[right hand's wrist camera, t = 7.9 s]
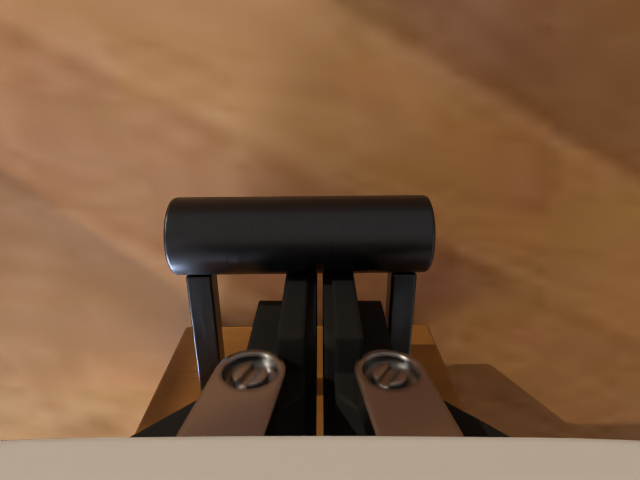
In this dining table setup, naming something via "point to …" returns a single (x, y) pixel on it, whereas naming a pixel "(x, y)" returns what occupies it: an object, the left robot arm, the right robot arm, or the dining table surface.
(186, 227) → the drawer
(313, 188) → the dining table surface
